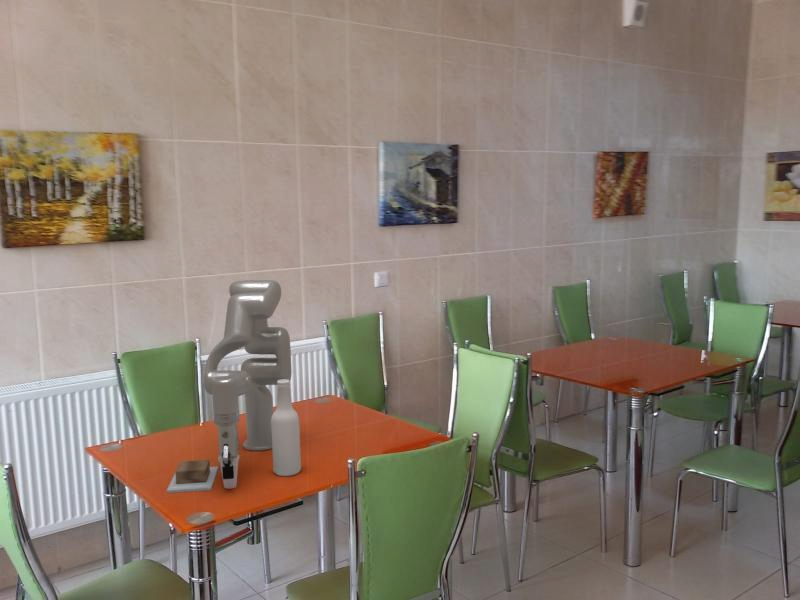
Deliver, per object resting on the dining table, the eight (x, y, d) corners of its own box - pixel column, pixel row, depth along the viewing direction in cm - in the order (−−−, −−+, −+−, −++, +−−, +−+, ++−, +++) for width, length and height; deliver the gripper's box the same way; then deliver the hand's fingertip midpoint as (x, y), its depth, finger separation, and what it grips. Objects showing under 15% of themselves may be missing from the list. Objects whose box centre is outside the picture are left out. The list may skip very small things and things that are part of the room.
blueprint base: (218, 468, 240) (217, 454, 240) (211, 490, 222) (210, 474, 222) (177, 471, 239) (176, 457, 238) (166, 493, 221) (165, 477, 220)
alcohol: (278, 479, 230) (274, 385, 226) (269, 470, 238) (265, 379, 234) (305, 473, 234) (301, 381, 230) (295, 465, 242) (291, 375, 238)
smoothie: (221, 482, 228) (218, 439, 226) (242, 481, 229) (240, 438, 227) (218, 490, 222) (215, 446, 220) (239, 489, 222) (237, 445, 220)
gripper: (236, 425, 214) (239, 484, 217) (241, 408, 231) (244, 463, 234) (210, 426, 213) (213, 486, 216) (217, 410, 230) (220, 465, 233)
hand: (229, 473), depth 225 cm, fingers closed on smoothie, 6 cm apart
